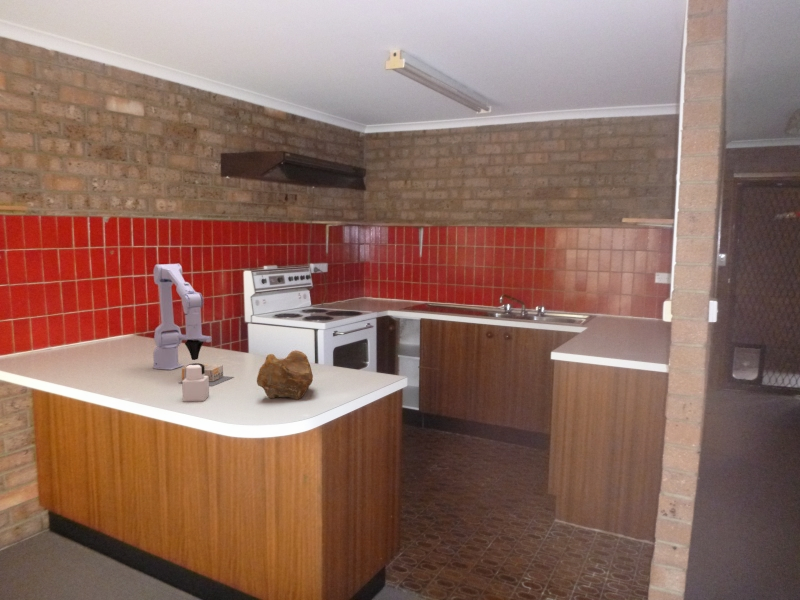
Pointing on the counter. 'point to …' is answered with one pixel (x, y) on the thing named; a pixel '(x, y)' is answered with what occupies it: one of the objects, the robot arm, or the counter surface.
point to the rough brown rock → (285, 375)
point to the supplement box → (209, 372)
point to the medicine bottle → (195, 383)
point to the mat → (218, 380)
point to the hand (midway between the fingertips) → (194, 359)
